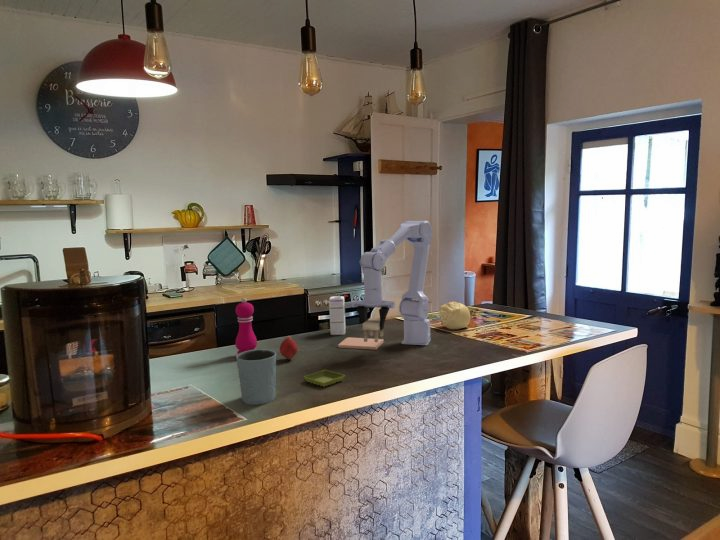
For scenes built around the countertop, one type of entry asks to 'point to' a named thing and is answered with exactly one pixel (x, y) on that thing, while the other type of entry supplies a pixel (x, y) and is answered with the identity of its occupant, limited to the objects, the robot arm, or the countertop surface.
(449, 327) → the pale yellow round lump
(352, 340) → the board
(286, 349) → the pomegranate
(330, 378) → the saucer
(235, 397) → the countertop surface
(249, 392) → the grey cup
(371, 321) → the stool
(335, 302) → the syrup box
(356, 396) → the countertop surface
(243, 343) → the pepper mill
